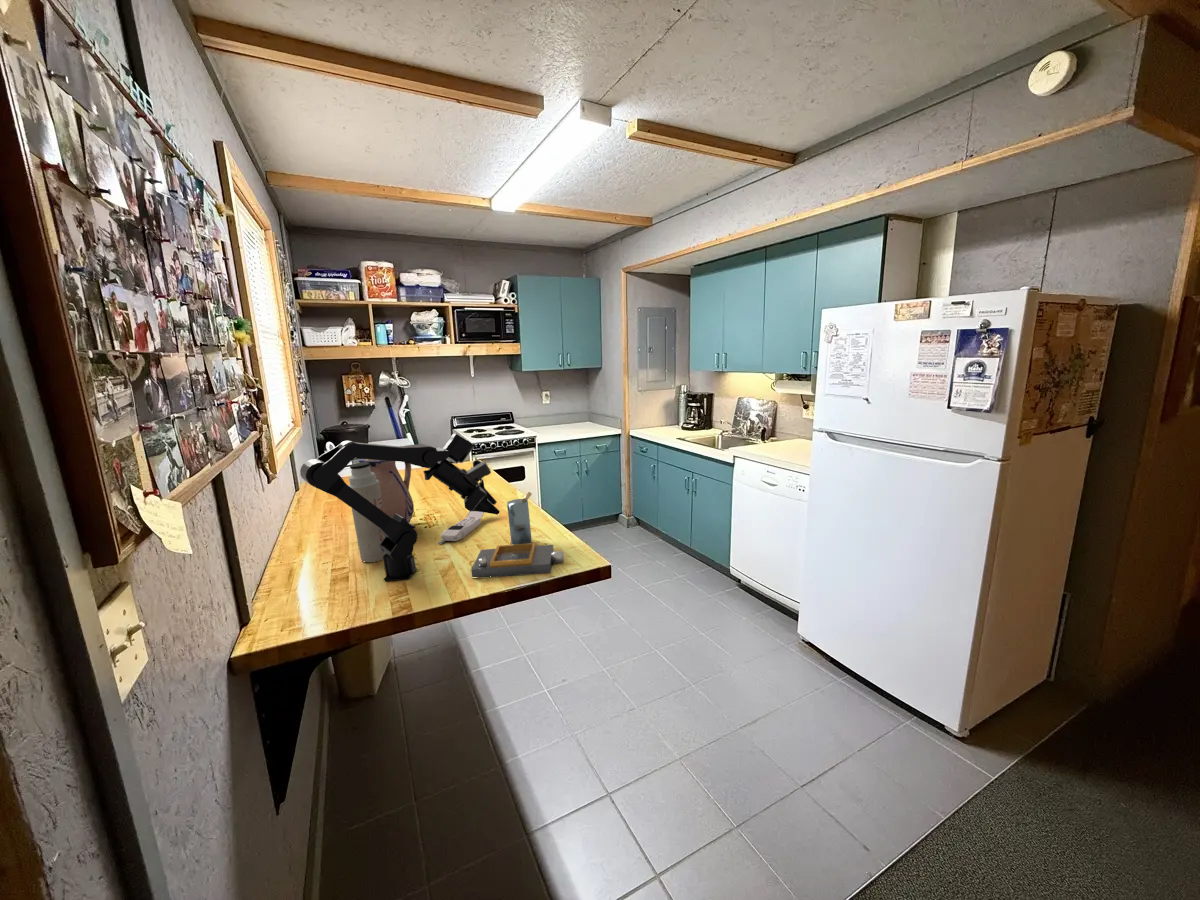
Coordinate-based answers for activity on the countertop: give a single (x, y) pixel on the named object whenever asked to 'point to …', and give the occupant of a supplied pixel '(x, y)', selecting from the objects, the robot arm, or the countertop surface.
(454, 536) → the mobile phone
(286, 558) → the countertop surface
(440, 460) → the robot arm
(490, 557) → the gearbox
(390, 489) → the ceramic pitcher
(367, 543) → the thermos bottle
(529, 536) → the spout can
